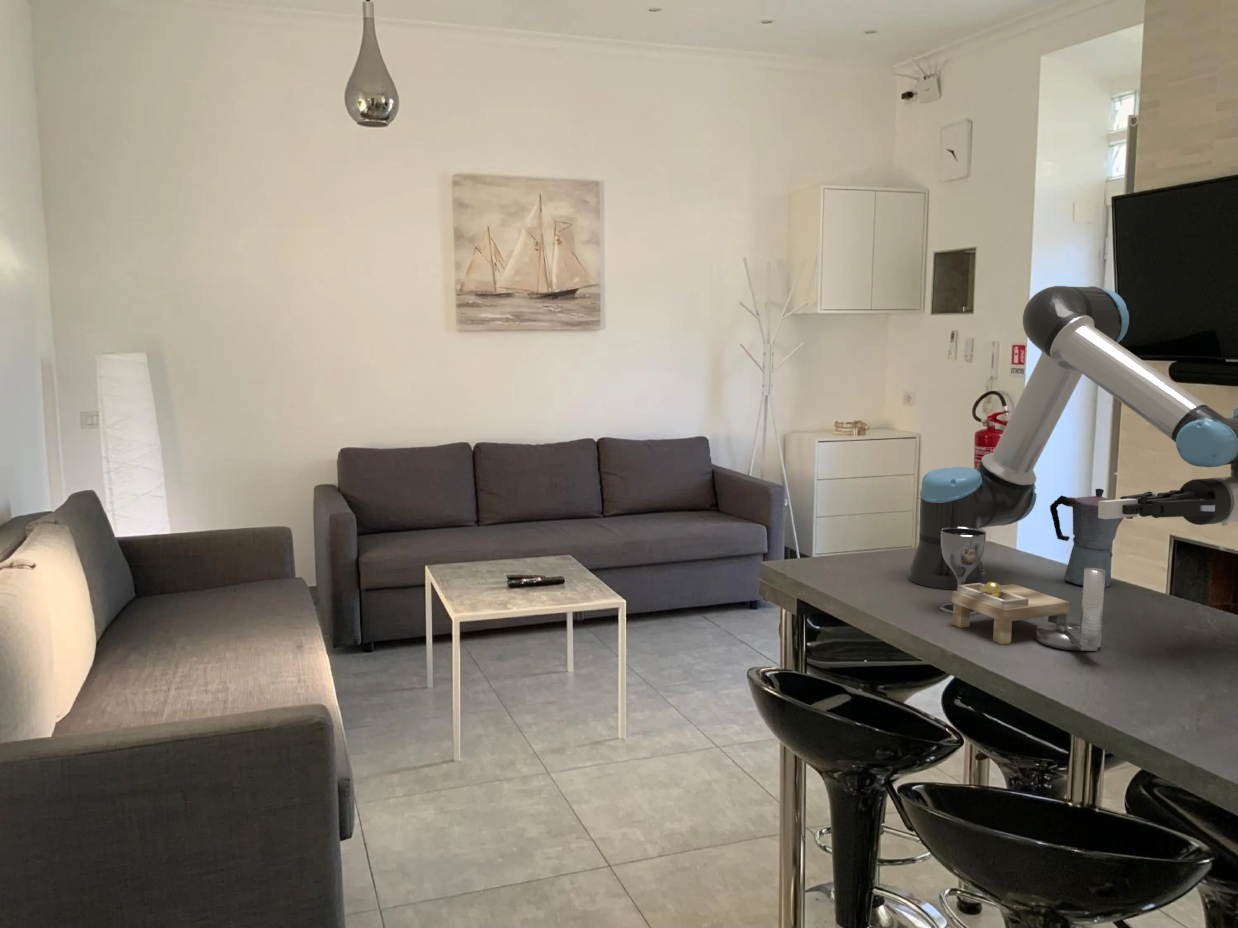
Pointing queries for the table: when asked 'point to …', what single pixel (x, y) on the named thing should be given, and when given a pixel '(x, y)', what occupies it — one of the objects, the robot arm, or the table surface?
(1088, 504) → the moka pot
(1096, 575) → the silver l-shaped piece
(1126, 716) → the table surface
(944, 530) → the wine glass
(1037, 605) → the stand
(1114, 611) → the table surface
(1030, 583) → the table surface
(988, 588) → the ball
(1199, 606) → the table surface
